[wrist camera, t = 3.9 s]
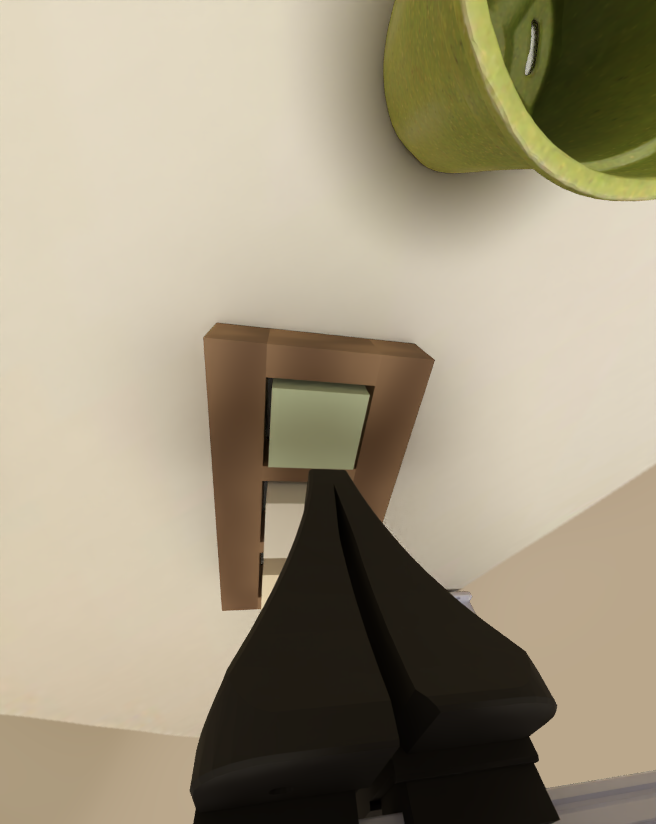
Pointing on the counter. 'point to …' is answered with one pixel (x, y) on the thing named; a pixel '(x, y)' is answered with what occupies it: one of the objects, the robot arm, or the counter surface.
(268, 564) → the cream key
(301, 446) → the sage key
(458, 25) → the plant pot
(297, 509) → the ivory key
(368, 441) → the keypad board
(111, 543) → the counter surface
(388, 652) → the robot arm
